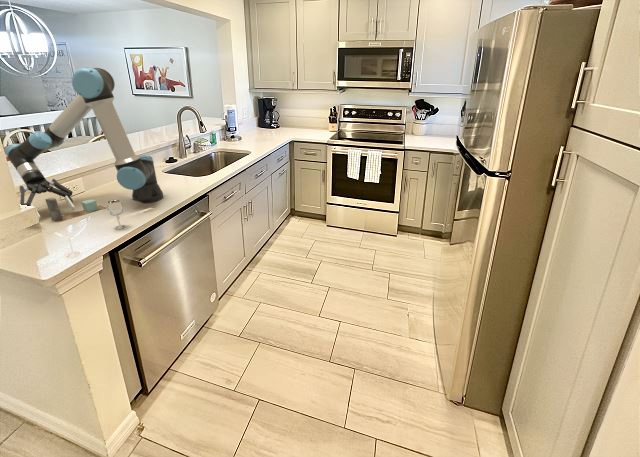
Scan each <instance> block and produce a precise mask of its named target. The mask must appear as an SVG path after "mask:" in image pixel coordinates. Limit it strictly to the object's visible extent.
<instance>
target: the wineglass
mask: <svg viewBox="0 0 640 457" xmlns="http://www.w3.org/2000/svg"><path fill="white" fill-rule="evenodd" d="M106 208H107V211H108V213H109V215H111V216H114V217H116V220H117V222H118V225H117V226H115V227H114V229H115V230H122V228H123V229H125V228H126V227H127V226H126V224H121V222H120V217H119V216H121V215H122V214H123V213H124V206H123V204H122V202H121V200H120V199H111V200H109V201H108V200H107V206H106Z"/></svg>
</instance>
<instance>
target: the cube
mask: <svg viewBox="0 0 640 457" xmlns="http://www.w3.org/2000/svg"><path fill="white" fill-rule="evenodd" d="M81 205H82V210H84V211H86V212H88V213H89V212H92V211H96V210H98V207H97V206H98V204H97V201H96V200H95V199H91V198H90V199H88V200H83V201H81ZM96 212H97V211H96ZM92 213H93V212H92ZM89 214H90V213H89Z"/></svg>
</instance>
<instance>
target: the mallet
mask: <svg viewBox="0 0 640 457" xmlns="http://www.w3.org/2000/svg"><path fill="white" fill-rule="evenodd" d="M45 203H46V206H47V208H48V211H49V215H50V220H51V221H53V222H55V223H61V222H64V221H68V220H72V219H75V218H78V217H81V216H85V215H88V214H92V213H96V212H99V211H101V210H106V209H107V206H103V205H100V204H99V205H97V207H98V210H96V211H92V212H89V213H88V212H86V211H84V209H82V210H79V211H74V212H72V213H68V214H64V215H62V213H61V211H60V207H59V204H58V200H57V198H55V197H49V198H45Z"/></svg>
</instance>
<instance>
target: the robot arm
mask: <svg viewBox="0 0 640 457" xmlns="http://www.w3.org/2000/svg"><path fill="white" fill-rule="evenodd" d="M71 85H72V88H73V90H74V91H75V93H76V94H77V95H76V96H75V97H74V98H73V100H71V102H70V103H69V104H68V105H67V106H66V107H65V108H64V109H63V110H62V111H61V113H60V114H59V115H58V116H57V117H56V118H55V119H54V121H52V123H51V124H50V125H49V126H48V127H47V128H46V130H45V131H40V130H36V131H34V132H33V133H32V134H30V135H29V136H28V137H27V138H25V140H23V141H22V143H12V144H11V145H8V146H6V147H5V148H4V153H5V155H6V156H7V159H8V160H9V162H10V163H11V165H13V167H14V168H15V170H16V172H17V174H18V175H19V177H20V178H21V179H22V181H23V182H24V184H25V185H26V186H23V185H19V192H20V201H19V202H20V204H21V205H27V206H33V207H35V206H34V204H33V203H32V202H33V200H34V198H35V195H36V194H37V195H38V194H42V193H46V192H49V193H52V194H55V195H58V196H60V197H62V198H64V200H65V202H66V203H67V205H68V206H69V208H70V210H71V211H75V208H76V206H75V205H74V203H73V202H74V200H73V198H72V196H73V193H74V192H73V191H72V190H71V189H69V188H67V187H66V186H65V185H62V184H60V183H59V181H57V180H56V179H55V178H53V179H52V180H49V181H48V180H47V179H46V178H45V175H43V173H42V172H41V170H40V168H39V167H38V165H37V164H36V162H35V161H34V160H35V159H36V158H37V157H39V156H40V155H41V154H42V153H43V152H47V151H49V150H51V149H53V148H57V147H59V146H61V145H62V144H64V142H65V141H64V140H65V139H66V138H67V136H68V135H69V134H71V132H72V131H73V130H74V129H75V128H76V127H77V125H78V124H79V123H81V121H82V120H83V119H84V118H85V117H86V116H87V115H88V114H89V113H90V112H91V110H92V111H93V113H94V115H95V118H96V119H97V122H98V124H99V126H100V129H101V130H102V133H103V135H104V137H105V140H106V141H107V144H108V146H109V148H110V150H111V152H112V154H113V156H114V158H115V161H114V164H113V165H114V167H115V169H116V171H117V173H116V181H117V183H118V184H119V185H120V186H121V187H123V188H124V189H127V190H129V191H132V194H131V198H132V201H135V202H140V203H142V204H147V203H154V202H159V201H160V200H162V199H164V192H163V190H162V189H161V187H160V185H159V184H158V180H157V174H156V169H155V165H154V159H153V157H152V155H145V154H144V155H140V154H139V155H137V154H135V151H134V148H133V146H132V144H131V142H130V140H129V137H128V135H127V132H126V131H125V128H124V126H123V124H122V121H121V118H120V117H119V115H118V112H117V110H116V108H115V106H114V103H113V102H114V100H115V96H114V94H113V91H114V89H115V86H116V84H115V79H114V77H113V75H112V74H111V73H109V72H108V71H107V70H105V69H104V68H101V67H88V66H87V67H82V68H78V69H77V70H76V71H74V72H73V74H72V76H71ZM27 190H28V191H30V193H29V194H30V195H29V196H28V198H27V201H26V202H25V193H26V192H27ZM20 204H19V205H20ZM37 214H38V218H39V220H41V215H40V213H39V212H38V211H37Z"/></svg>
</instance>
